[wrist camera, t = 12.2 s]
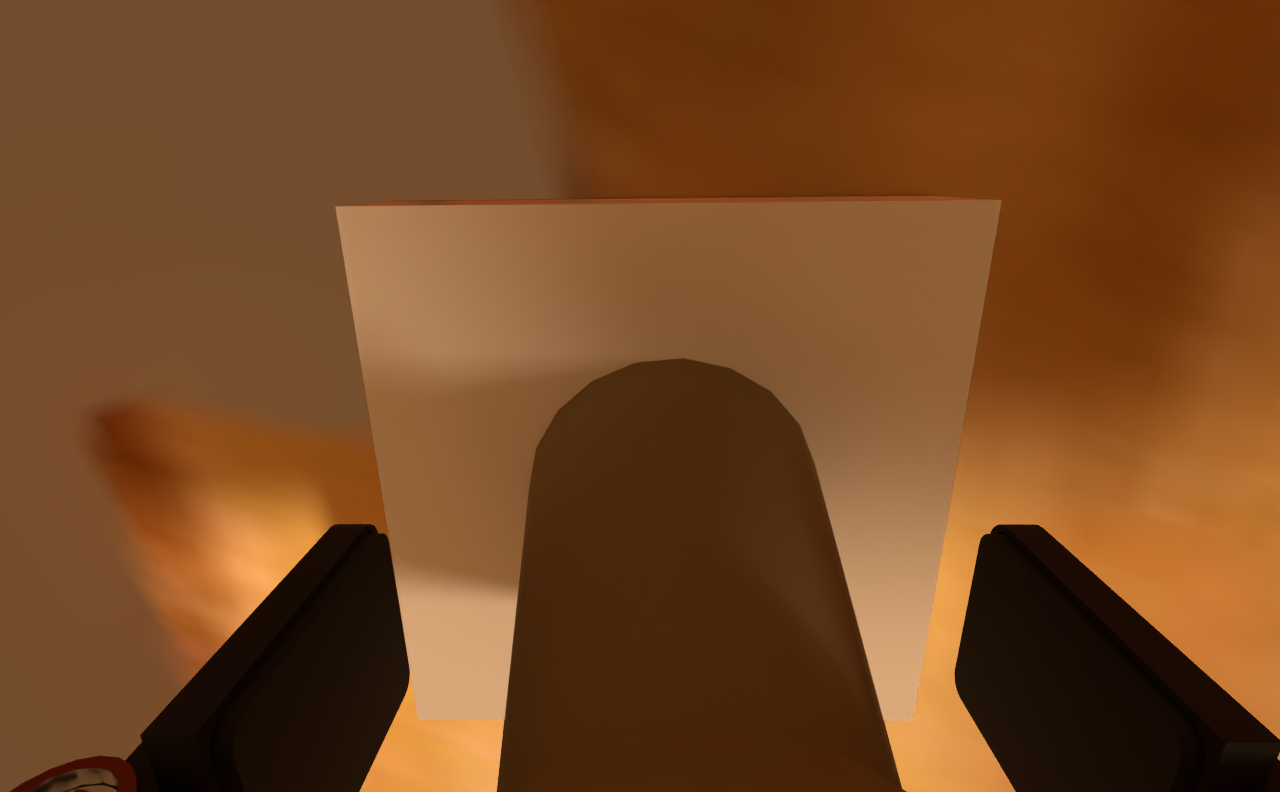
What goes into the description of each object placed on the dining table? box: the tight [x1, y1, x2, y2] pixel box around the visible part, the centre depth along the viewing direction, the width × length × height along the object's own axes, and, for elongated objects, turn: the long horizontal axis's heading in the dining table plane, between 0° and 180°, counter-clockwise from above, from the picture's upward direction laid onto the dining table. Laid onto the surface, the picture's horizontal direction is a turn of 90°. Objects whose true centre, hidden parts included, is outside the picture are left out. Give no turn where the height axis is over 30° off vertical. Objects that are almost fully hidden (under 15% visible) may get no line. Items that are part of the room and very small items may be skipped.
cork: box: [497, 358, 906, 792], centre depth 8 cm, size 6×6×11 cm
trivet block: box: [335, 196, 1002, 721], centre depth 15 cm, size 12×12×3 cm
